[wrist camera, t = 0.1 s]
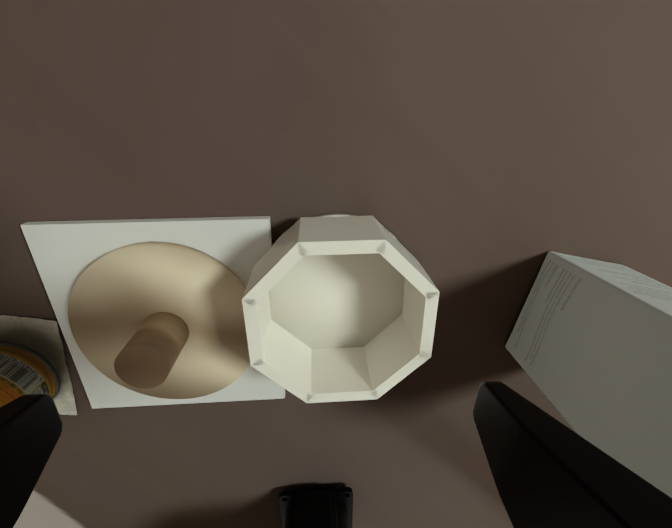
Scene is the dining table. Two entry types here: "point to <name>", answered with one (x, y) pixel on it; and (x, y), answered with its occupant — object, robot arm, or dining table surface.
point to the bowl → (339, 310)
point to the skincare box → (603, 358)
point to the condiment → (33, 362)
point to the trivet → (107, 235)
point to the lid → (161, 320)
